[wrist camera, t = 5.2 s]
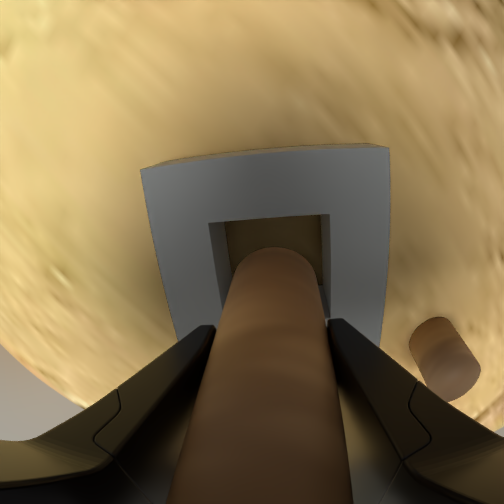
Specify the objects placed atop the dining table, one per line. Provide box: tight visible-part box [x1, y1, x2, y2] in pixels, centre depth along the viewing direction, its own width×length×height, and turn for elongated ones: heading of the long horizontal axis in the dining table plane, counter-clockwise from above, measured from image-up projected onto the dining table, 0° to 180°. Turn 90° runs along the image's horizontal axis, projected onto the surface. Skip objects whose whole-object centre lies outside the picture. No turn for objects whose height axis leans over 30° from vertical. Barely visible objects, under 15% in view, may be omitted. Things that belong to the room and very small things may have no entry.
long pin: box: [166, 247, 354, 504], centre depth 7 cm, size 3×3×9 cm
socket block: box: [140, 143, 390, 347], centre depth 14 cm, size 9×9×3 cm
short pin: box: [409, 317, 481, 402], centre depth 14 cm, size 3×3×4 cm
